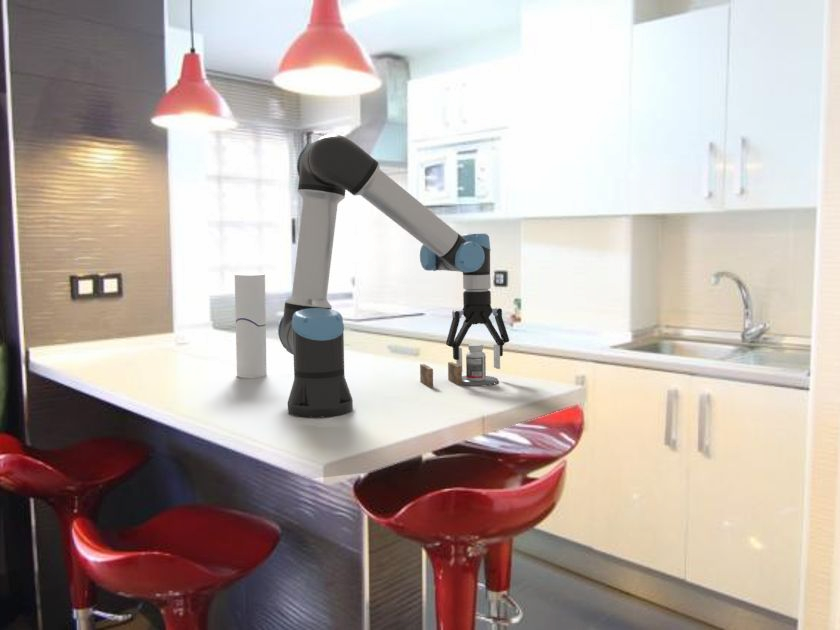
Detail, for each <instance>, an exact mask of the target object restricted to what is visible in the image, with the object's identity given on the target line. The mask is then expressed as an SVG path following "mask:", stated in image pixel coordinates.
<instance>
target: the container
mask: <svg viewBox="0 0 840 630" xmlns="http://www.w3.org/2000/svg"><path fill="white" fill-rule="evenodd" d="M234 298H235V299H234V301H235V303H234V306H235V309H234V311H235V342H236V344H235V347H236V348H235V351H236V376H237V377H238V378H243V379H255V378H263V377H265V376H267V374H268V373H267V326H266V322H267V321H266V320H267V318H266V317H267V316H266V314H267V313H266V312H267V311H266V273H262V272H239V273H234Z"/></svg>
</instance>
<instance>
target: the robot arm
mask: <svg viewBox="0 0 840 630" xmlns="http://www.w3.org/2000/svg"><path fill="white" fill-rule="evenodd" d="M380 168H381V167H380V163H379V162H378V161H377V160H376V159H374V158H373V157H372V156H371V155H370V154H369V153H367V151H365V150H363V148H361V147H360V146H359V145H357V144H356V143H355V142H354V141H352V140H351V139H349V138H348V137H345V136H343V135H340V134H326V135H324V136H321V137H320V138H318V139H317V140H314V141H312V142H310V143H308V144H307V145H306V146H305V147H304V148H303V149H302V151H301V152H300V154H299V155H298V158H297V161H296V170H297V175H298V178H299V179H298V184H297V185H298V186H297V193H298V194H299V195H300V197H301V198H302V206H301V213H300V214H301V215H300V222H299V223H300V224H299V230H298V231H299V232H298V241H297V250H296V258H295V267H294V277H293V283H292V284H293V285H292V294H291V296H289V297H288V298H287V299H285V301H284V309H283V316H282V317H281V319H280V320H279V324H278V329H277V331H278V332H277V334H278V339H279V342H280V343H281V345H282V347H283V348H284V349H285V350H286V352H288V353H289V354H291V355H293V369H294V370H293V374H294V375H293V377H294V378H293V379H294V380H293V383H292V385H291V390H290V393H289V397H288V399H287V413H288V414H290V415H291V416H294V417H300V418H329V417H336V416H341V415H344V414H345V415H346V414H347V413H350V412H352V411H353V409H354V404H353V403H354V402H353V401H354V400H353V397H352V395H351V392H350V391H351V390H350V388H349V385H348V383H347V381H346V380H347V379H346V378H345V377H346V376H345V375H346V374H345V346H344V345H345V342H344V341H345V340H344V338H345V337H344V336H345V335H344V330H345V326H344V325H345V324H344V319H343V316H342V314H341V312H339V311H338V310H335V309H332V307H333V305H331V304H330V302H329V300H328V299H327V298H328V288H329V280H330V271H331V265H332V264H331V262H332V255H333V247H334V246H333V245H334V238H335V229H336V221H337V212H338V204H340V202H342V201H343V200H344V199H345V197H346V191H347V192H349V193H350V194H351V195H353V196H361V198H363V199H365V200H366V201H367V202H368V203H370V204H371V205H372V206H373V207H375V208H376V209H377V210H378V211H380V212H381V213H383V214H384V215H385V216H386V217H388V218H389V219H391V221H392V222H394V223H396V224H397V225H398V226H399V227H400V228H402V229H403V230H404V231H406V232H407V233H408V234H409V235H411V236H412V237H413V238H415V239H416V240H418V241H419V242H420V243H421V244H422V246H421V247H420V252H419V261H420V265H421V267H422V268H423V270H424V271H433V272H436V271H447V272H449V271H450V272H460V273H462V284H463V285H462V289H463V290H465V291H463V293H462V297H463V303H462V304H463V308H462V310H456V309H455V310H453V311H452V312H451V313H452V314H451V315H452V319H451V320H452V321H451V324H450V328H449V331H448V334H447V339H446V342H445V345H446V346H448V347H451V348H452V358H453V360H455V362H456V363H455V364H457V365H459V366H461V367H462V368H463V348H462V347H461V345H462V342H463V340H464V339H465V337H466V335H467V334H468V331H469V329H470V328H471V327H472V326H473V325H478V324H479V325H484V326H485V327H486V328H487V330H488V332H489V333H490V335H491V337H492V339H493V341H494V342H495V343H494V344H493V368H494V369H497V370H500V369H501V357H503V355H504V350H503V348H504V345H505V344H506V343H509V342H510V337H509V335H508V332H507V328H506V326H505V321H504V319H503V309H502V308H500V307H495V308H492V306H491V305H492V298H491V297H492V296H491V295H492V294H491V293H492V292H491V290H490V289H491V288H492V285H491V281H492V280H491V243H490V236H489V235H488V234H487V233H464V234H463V235H462V234H460V233H458V232H457V231H456V230H455V229H454V228H452V227H451V226H449V224H447V223H446V222H445V221H444V220H443V219H441V218H440V217H438V215H437V214H435V213H434V212H433V211H431V210H430V209H429V208H428V207H426V206H425V205H424V204H423V203H422V202H420V201H419V200H418V199H417V198H415V197H414V196H413V195H412V194H411V193H409V192H408V191H407V190H405V189H404V188H403V186H401V185H399V183H397V182H396V181H395V180H394V179H392V178H391V177H389V176H388V174H386V173H385V172H383V170H381V169H380ZM491 315H493V316H494V319H495V322H496V326H497V328H498V331H497V329H496V328H495V327H494V324H493V322H492V321H491V319H490V316H491ZM462 316H463V317H464V321H463V323H462V325H461V328H460V329H459V331H458V328H459V325H460V319H461V318H462ZM457 331H458V332H457ZM498 332H499V333H498ZM456 334H457V335H456Z"/></svg>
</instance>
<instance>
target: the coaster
mask: <svg viewBox="0 0 840 630" xmlns="http://www.w3.org/2000/svg"><path fill="white" fill-rule="evenodd" d="M497 382H499V379H498V378H497V377H495V376H490V375H486V379H485V380H482V381H470V380H467V378H466V375H462V385H461V386H465V385H467V387H483V386H482V385H487V386H490V385H489V384H493V385H495V384H494V383H496V384H498V383H497Z"/></svg>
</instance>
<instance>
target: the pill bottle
mask: <svg viewBox="0 0 840 630" xmlns="http://www.w3.org/2000/svg"><path fill="white" fill-rule="evenodd" d="M467 348H468V350H469V351H468V352H467V353H466V354H465V359H466V360H465V362H466V365H465V369H466V373H465V374H466V375H465V376H466V378H467V380H470V381H482V380H485V379H486V376H487V373H486V370H487V369H486V364H487V363H486V359H487V357H486V353H485V351H484V344H483V343H469V344H468V347H467Z"/></svg>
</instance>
